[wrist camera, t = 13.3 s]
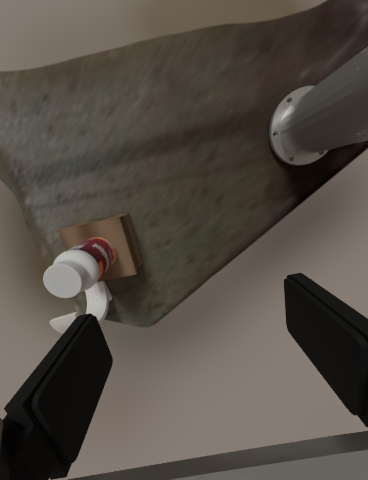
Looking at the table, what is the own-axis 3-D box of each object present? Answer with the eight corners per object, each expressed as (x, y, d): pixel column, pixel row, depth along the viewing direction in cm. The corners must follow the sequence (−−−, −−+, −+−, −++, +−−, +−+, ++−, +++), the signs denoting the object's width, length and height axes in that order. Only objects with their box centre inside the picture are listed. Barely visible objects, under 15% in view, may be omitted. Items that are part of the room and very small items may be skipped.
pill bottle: (122, 262, 34) (96, 295, 23) (92, 272, 34) (53, 310, 24) (107, 231, 32) (72, 252, 22) (75, 242, 33) (26, 268, 22)
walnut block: (128, 213, 38) (119, 217, 32) (142, 262, 41) (136, 274, 35) (76, 223, 38) (58, 230, 32) (94, 271, 41) (80, 285, 35)
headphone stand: (103, 279, 41) (74, 314, 30) (114, 301, 43) (90, 343, 31) (84, 285, 42) (48, 322, 30) (96, 307, 43) (66, 350, 32)
